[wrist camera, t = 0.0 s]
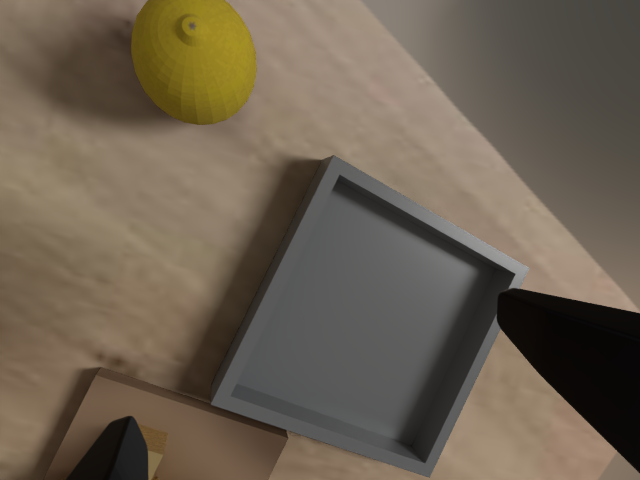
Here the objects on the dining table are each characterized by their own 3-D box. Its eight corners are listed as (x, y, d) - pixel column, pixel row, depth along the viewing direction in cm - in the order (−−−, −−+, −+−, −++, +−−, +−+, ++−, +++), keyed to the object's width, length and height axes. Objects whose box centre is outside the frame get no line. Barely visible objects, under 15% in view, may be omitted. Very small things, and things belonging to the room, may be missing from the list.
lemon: (229, 151, 23) (235, 126, 15) (133, 109, 21) (84, 58, 13) (263, 65, 23) (287, -5, 15) (170, 17, 21) (142, -88, 13)
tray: (411, 453, 28) (429, 477, 26) (211, 383, 24) (210, 404, 21) (502, 262, 28) (529, 268, 26) (322, 159, 24) (333, 155, 22)
